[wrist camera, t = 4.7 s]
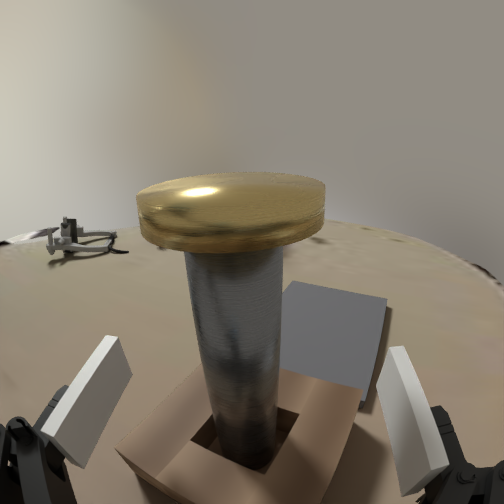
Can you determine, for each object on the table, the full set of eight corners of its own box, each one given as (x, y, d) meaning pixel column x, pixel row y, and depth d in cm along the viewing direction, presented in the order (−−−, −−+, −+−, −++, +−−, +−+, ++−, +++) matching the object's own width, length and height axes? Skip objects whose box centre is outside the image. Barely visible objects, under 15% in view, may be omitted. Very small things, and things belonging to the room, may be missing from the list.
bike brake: (43, 260, 49) (128, 264, 54) (39, 229, 47) (127, 231, 52) (64, 239, 61) (138, 241, 66) (63, 213, 59) (138, 214, 64)
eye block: (134, 472, 15) (113, 447, 13) (221, 378, 24) (217, 346, 23) (290, 552, 9) (297, 546, 8) (352, 420, 19) (363, 389, 17)
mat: (225, 367, 26) (225, 359, 25) (292, 287, 40) (292, 280, 39) (362, 408, 20) (364, 401, 20) (385, 305, 34) (387, 298, 33)
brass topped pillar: (184, 462, 15) (99, 201, 9) (231, 404, 20) (209, 171, 14) (269, 502, 12) (280, 217, 6) (308, 431, 18) (342, 177, 11)
